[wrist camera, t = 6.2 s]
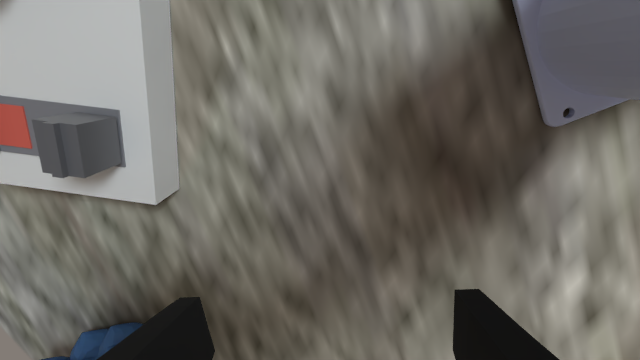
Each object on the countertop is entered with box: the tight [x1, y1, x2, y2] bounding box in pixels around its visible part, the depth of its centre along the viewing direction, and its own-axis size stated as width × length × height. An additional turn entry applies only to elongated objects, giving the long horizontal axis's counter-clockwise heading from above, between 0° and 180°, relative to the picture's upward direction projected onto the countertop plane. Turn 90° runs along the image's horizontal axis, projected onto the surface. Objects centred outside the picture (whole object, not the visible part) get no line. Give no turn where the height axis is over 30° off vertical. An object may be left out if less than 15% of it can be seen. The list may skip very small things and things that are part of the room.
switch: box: [32, 112, 121, 178], centre depth 15 cm, size 2×2×3 cm
